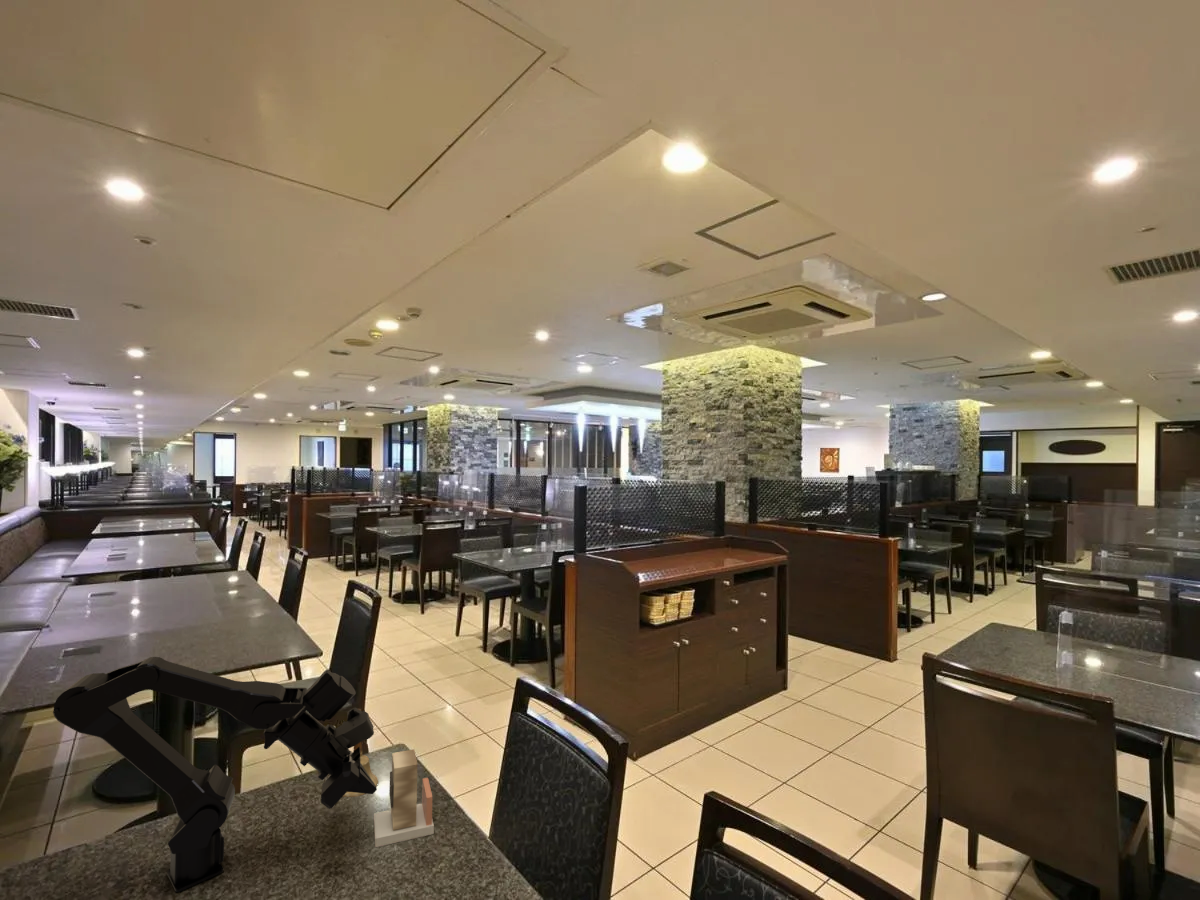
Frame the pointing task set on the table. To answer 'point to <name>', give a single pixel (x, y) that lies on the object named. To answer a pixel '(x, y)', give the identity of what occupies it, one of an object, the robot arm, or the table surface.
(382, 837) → the base
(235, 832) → the table surface
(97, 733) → the robot arm
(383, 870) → the table surface
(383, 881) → the table surface
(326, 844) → the table surface
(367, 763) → the hand bell
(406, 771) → the tan tall block
